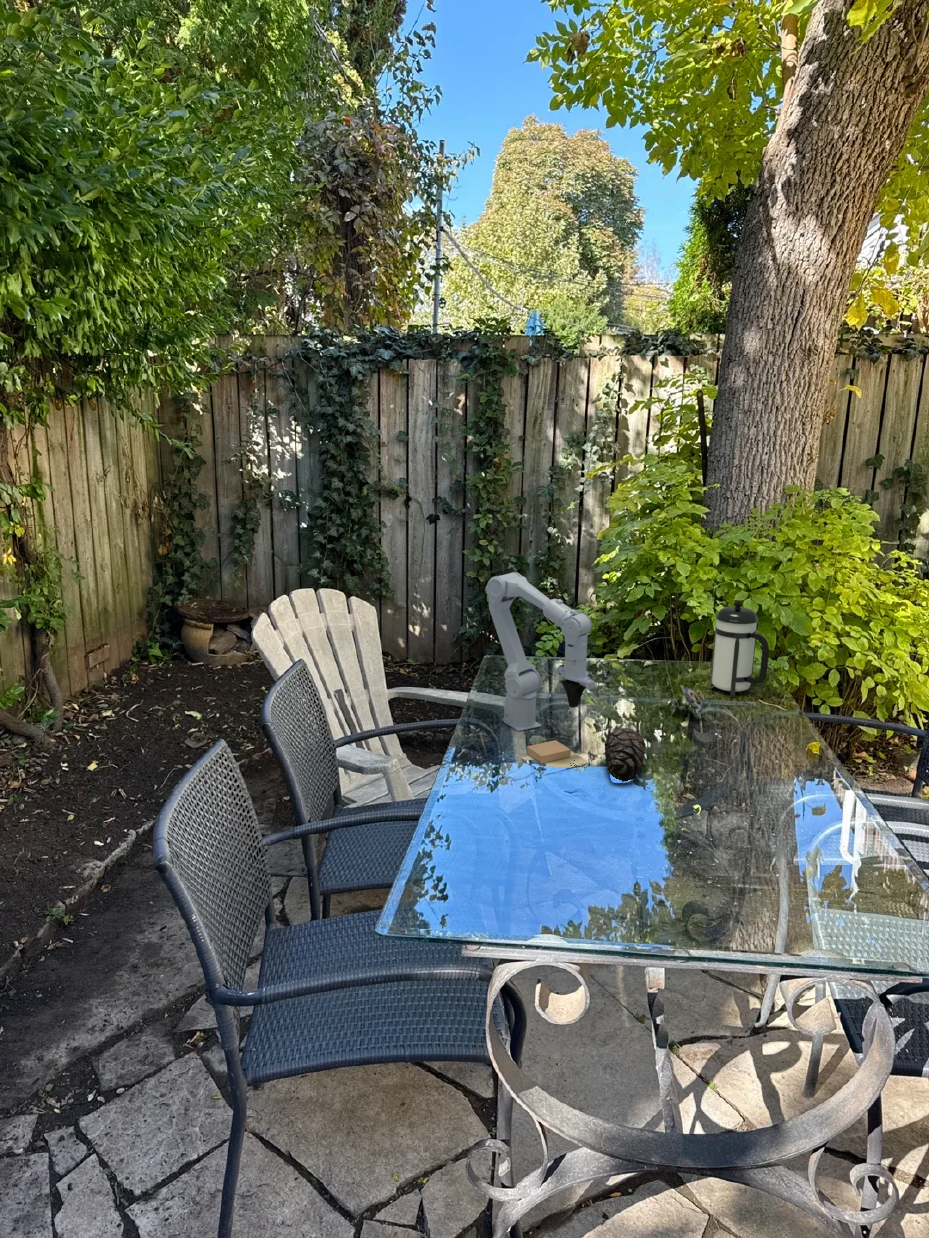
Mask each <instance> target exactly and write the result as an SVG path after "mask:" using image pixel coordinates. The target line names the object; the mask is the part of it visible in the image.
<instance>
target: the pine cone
mask: <svg viewBox="0 0 929 1238" xmlns="http://www.w3.org/2000/svg"><path fill="white" fill-rule="evenodd" d="M645 750H646V743H645V740H644V737H643V735H641V733H639V732H638V731H635V730H633V729H632V728H630V727H618V728H616V729H614V730H613V731H610V733H608V735H607V739H606V740H605V742H604V756H605V763H606V765H607V773H608V774H609V773H610V774H611V775H612V776H613V777H615V778H616V779H619V780H622V781H628V780H630V779H635V780H636V779H637V776H638V775H639V773H640V772H641V767H642V765H643V763H644V757H645V753H646V752H645ZM608 771H609V772H608ZM637 774H638V775H637ZM636 775H637V776H636Z"/></svg>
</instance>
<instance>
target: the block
mask: <svg viewBox="0 0 929 1238" xmlns="http://www.w3.org/2000/svg"><path fill="white" fill-rule="evenodd" d="M571 751H572V750H571V748H569V747H567V746H566V745H564V744H562V742H559V741H558V740H556V739H555V740H549V741H545V742H542V743H537V744H531V745H527V746H526V755H527V756H529V755H530V756H531V757H533V758H534V759H536V760H537V761H538V762H540V763H541V764H542V763H546V762H551V761H555V760H559V759H563V758H567V757H571Z"/></svg>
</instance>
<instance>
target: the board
mask: <svg viewBox="0 0 929 1238" xmlns="http://www.w3.org/2000/svg"><path fill="white" fill-rule="evenodd" d="M521 758H522V759H524V760H536V759H534V758H533V757H531V756H530V755H525V756H521V757H520V759H521ZM522 759H521V760H522ZM574 760H575V761H574ZM576 761H577V762H576ZM569 762H570V763H571V764H570V763H569ZM575 762H576V763H577V764H576V763H575ZM573 763H574V764H573ZM588 763H590V761H588V760H587V759H585V758H583V757H582V756H580V755H579V754H577V753H575V752H574V751H572V750H571V757H567V758H563V759H559V760H555V761H551V762H546V763H545V764H546V766H547V767H549V766H551V765H552V766H551V767H553V766H554V767H575V766H576V765H577V766H579V765H583V766H585V765H584V764H587V765H589V764H588ZM569 764H570V765H572V764H573V765H572V766H570V765H569ZM575 764H576V765H575ZM590 764H591V763H590ZM555 765H556V766H555ZM574 765H575V766H574ZM579 767H580V766H579ZM575 768H576V767H575Z"/></svg>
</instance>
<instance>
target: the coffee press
mask: <svg viewBox="0 0 929 1238" xmlns="http://www.w3.org/2000/svg"><path fill="white" fill-rule="evenodd" d="M733 605H734V606H725V607H723V608H721V609H719V610H718V612H717V613H716V614H715V619H716V623H715V624H716V625H715V629H714V640H713V650H712V662H711V672H710V673H711V674H710V675H711V676H710V681H709V682H708V683H707V684H706V689H707V690H708V688H709V686H710V684H712V686H710V687H711V689H710V690H712V689H713V688H715V687H716V688H717V689H720V690H721V691H722V690H723V691H727V692H729V697H730V698H732V699H733V698H735V697H736V692H743V691H749V692H750V693H751V694H753V693H755V687H754V686H753V685H757V684H761V683H763V682H764V681H765V680H766V677H767V672H768V665H769V654H770V647H769V643H768V640H767V638H766V637H764V636H763V635H761V634H760V633H757V630H758V629H757V623H758V622H759V617H758V616H757V613H756V612H755V610H752V609H750V608H747V607H743V603H742V601H740V600H735V602H734V604H733ZM756 641H758V642H759V643H760V645H761V660H760V669H759V670H760V671H759V675H758V677H757V678H755V677H753V672H754V671H753V670H754V661H755V651H756ZM707 687H708V688H707ZM750 687H752V689H753V690H750V689H749V688H750Z"/></svg>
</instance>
